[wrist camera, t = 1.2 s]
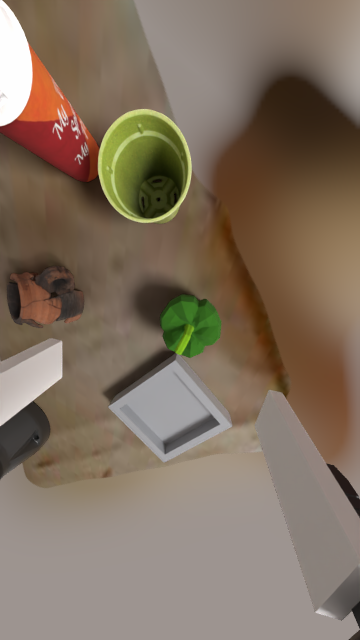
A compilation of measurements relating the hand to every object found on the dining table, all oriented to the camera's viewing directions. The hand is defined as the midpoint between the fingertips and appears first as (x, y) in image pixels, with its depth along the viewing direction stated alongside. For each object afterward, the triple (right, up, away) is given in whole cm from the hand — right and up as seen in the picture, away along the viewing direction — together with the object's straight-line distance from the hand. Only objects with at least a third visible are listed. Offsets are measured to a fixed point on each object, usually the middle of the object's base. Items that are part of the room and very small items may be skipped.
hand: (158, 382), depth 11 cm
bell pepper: (+3, +5, +19) cm, 20 cm away
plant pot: (-1, +21, +15) cm, 26 cm away
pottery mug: (-19, +9, +20) cm, 29 cm away
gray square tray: (0, -13, +24) cm, 27 cm away
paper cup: (-12, +27, +14) cm, 33 cm away
